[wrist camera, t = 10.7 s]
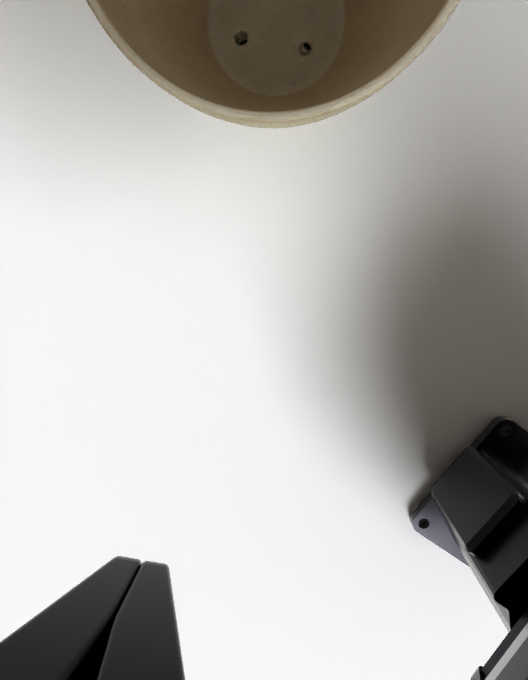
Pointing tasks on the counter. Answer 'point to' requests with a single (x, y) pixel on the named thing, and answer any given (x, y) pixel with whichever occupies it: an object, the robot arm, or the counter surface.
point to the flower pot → (272, 51)
